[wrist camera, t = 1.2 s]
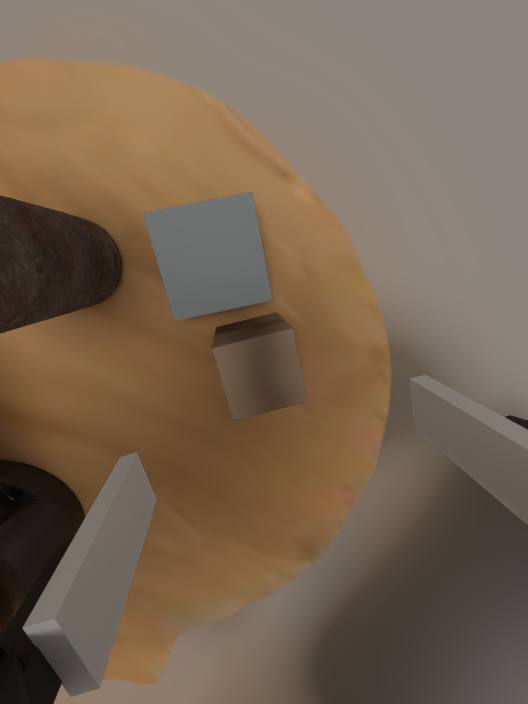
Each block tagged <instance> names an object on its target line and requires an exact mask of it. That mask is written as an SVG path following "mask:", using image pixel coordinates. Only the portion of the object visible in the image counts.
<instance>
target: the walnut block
mask: <svg viewBox="0 0 528 704" xmlns="http://www.w3.org/2000/svg"><path fill="white" fill-rule="evenodd" d="M212 351H213V354H214V357H215V361H216V364H217V368H218V371H219V374H220V378H221V381H222V385H223V388H224V391H225V395H226V398H227V402H228V405H229V408H230V412H231V415H232V419H233V421H235V420H239V419H243V418H246V417H250V416H254V415H258V414H262V413H265V412H269V411H273V410H277V409H280V408H284V407H288V406H292V405H296V404H299V403H303V402H307V401H308V400H307V395H306V390H305V385H304V380H303V375H302V371H301V366H300V361H299V356H298V351H297V346H296V341H295V336H294V331H293V328H292V327H291V326H290V325H289V324H288V323H287V322H286V321H285V320H284V319H283V318H281V317H280V316H279V315H278V314H277V313H272V314H268V315H264V316H260V317H256V318H252V319H248V320H244V321H240V322H236V323H232V324H228V325H224V326H220V327H216V332H215V337H214V341H213V346H212Z"/></svg>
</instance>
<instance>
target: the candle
mask: <svg viewBox="0 0 528 704" xmlns="http://www.w3.org/2000/svg"><path fill="white" fill-rule="evenodd" d="M119 272H120V258H119V255H118V252H117V249H116V247H115V245H114V243H113V242H112V240H111V238H110V236H109V235H108V233H107V232H106V231H105V230H104V229H102V228H101V227H99V226H98V225H97V224H95V223H93V222H91V221H88V220H86V219H83V218H79V217H76V216H73V215H69V214H66V213H64V212H60V211H56V210H52V209H49V208H45V207H41V206H38V205H34V204H30V203H26V202H23V201H19V200H16V199H12V198H8V197H4V196H0V333H4V332H7V331H10V330H13V329H17V328H20V327H23V326H26V325H30V324H33V323H37V322H40V321H43V320H47V319H50V318H54V317H57V316H60V315H63V314H67V313H71V312H74V311H77V310H80V309H83V308H86V307H89V306H92V305H95V304H97V303H100V302H101V301H103V300H104V299H105V298H106V297H107V296H109V295H110V294H111V292H112V291H113V289H114V288H115V286H116V284H117V282H118V278H119Z"/></svg>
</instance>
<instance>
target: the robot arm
mask: <svg viewBox="0 0 528 704" xmlns="http://www.w3.org/2000/svg"><path fill="white" fill-rule="evenodd" d="M410 386H411V396H412V408H413V419H414V428H415V429H416V430H417V431H418V432H419V433H420V434H422V435H423V436H424V437H425V438H426V439H428V440H429V441H430V442H431V443H432V444H433V445H435V446H436V447H437V448H438V449H439V450H440V451H442V452H443V453H444V454H445V455H446V456H447V457H449V458H450V459H451V460H452V461H453V462H454V463H456V464H457V465H458V466H459V467H460V468H462V469H463V470H464V471H465V472H466V473H467V474H468V475H470V476H471V477H472V478H473V479H474V480H475V481H477V482H478V483H479V484H480V485H481V486H483V487H484V488H485V489H486V490H487V491H488V492H490V493H491V494H492V495H493V496H494V497H495V498H497V499H498V500H499V501H500V502H501V503H503V504H504V505H505V506H506V507H507V508H508V509H509V510H511V511H512V512H513V513H514V514H515V515H516V516H518V517H519V518H520V519H521V520H522V521H524V522H525V523H526V524H527V525H528V420H524V419H521V418H517V417H514V416H506V417H503V416H501V415H499V414H497V413H496V412H494V411H492V410H490V409H488V408H486V407H484V406H483V405H481V404H479V403H477V402H475V401H473V400H471V399H470V398H468V397H466V396H464V395H462V394H460V393H458V392H456V391H455V390H453V389H451V388H449V387H447V386H445V385H443V384H442V383H440V382H438V381H436V380H434V379H432V378H430V377H428V376H427V375H422V376H418V377H414V378H411V379H410ZM156 502H157V499H156V496H155V494H154V492H153V489H152V487H151V485H150V482H149V480H148V477H147V475H146V473H145V470H144V468H143V466H142V463H141V461H140V458H139V456H138V454H137V452H136V453H132V454H129V455H125V456H121V457H120V458H119V460H118V461H117V463H116V465H115V467H114V468H113V470H112V472H111V474H110V475H109V477H108V479H107V481H106V482H105V484H104V486H103V488H102V489H101V491H100V493H99V495H98V496H97V498H96V500H95V502H94V503H93V505H92V507H91V509H90V510H89V512H88V514H87V516H86V517H85V519H84V517H83V512H82V509H81V507H80V505H79V503H78V501H77V499H76V498H75V496H74V495H73V494H72V492H71V491H70V490H69V489H68V488H67V487H66V486H65V485H64V484H63V483H61V482H60V481H59V480H57V479H56V478H54V477H53V476H51V475H49V474H48V473H46V472H44V471H41V470H39V469H37V468H34V467H31V466H28V465H24V464H19V463H13V462H4V461H0V704H54V701H55V698H56V696H57V693H58V691H59V688H60V686H61V684H62V685H63V686H64V688H65V689H66V691H67V692H68V693H69V695H70V696H71V697H72V696H75V695H79V694H82V693H85V692H88V691H92V690H95V689H98V688H100V686H101V682H102V679H103V676H104V672H105V669H106V666H107V663H108V659H109V656H110V653H111V649H112V646H113V643H114V640H115V636H116V633H117V630H118V626H119V623H120V620H121V617H122V613H123V610H124V607H125V603H126V600H127V597H128V594H129V590H130V587H131V584H132V580H133V577H134V574H135V571H136V567H137V564H138V561H139V557H140V554H141V551H142V548H143V544H144V541H145V538H146V534H147V531H148V528H149V525H150V521H151V518H152V515H153V511H154V508H155V505H156Z"/></svg>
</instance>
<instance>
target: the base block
mask: <svg viewBox="0 0 528 704" xmlns="http://www.w3.org/2000/svg"><path fill="white" fill-rule="evenodd" d="M143 215H144V218H145V222H146V225H147V229H148V232H149V236H150V239H151V242H152V246H153V249H154V253H155V256H156V260H157V263H158V266H159V270H160V273H161V277H162V280H163V284H164V287H165V291H166V294H167V297H168V301H169V304H170V308H171V311H172V315H173V318H174V321H179V320H183V319H188V318H193V317H197V316H202V315H207V314H211V313H216V312H221V311H225V310H230V309H235V308H239V307H244V306H249V305H253V304H258V303H263V302H267V301H272V294H271V289H270V284H269V278H268V273H267V268H266V262H265V257H264V251H263V246H262V241H261V235H260V230H259V225H258V219H257V214H256V209H255V203H254V198H253V193H252V192H249V193H244V194H239V195H233V196H228V197H223V198H218V199H213V200H208V201H203V202H197V203H192V204H187V205H182V206H177V207H172V208H166V209H161V210H156V211H151V212H146V213H143Z"/></svg>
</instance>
